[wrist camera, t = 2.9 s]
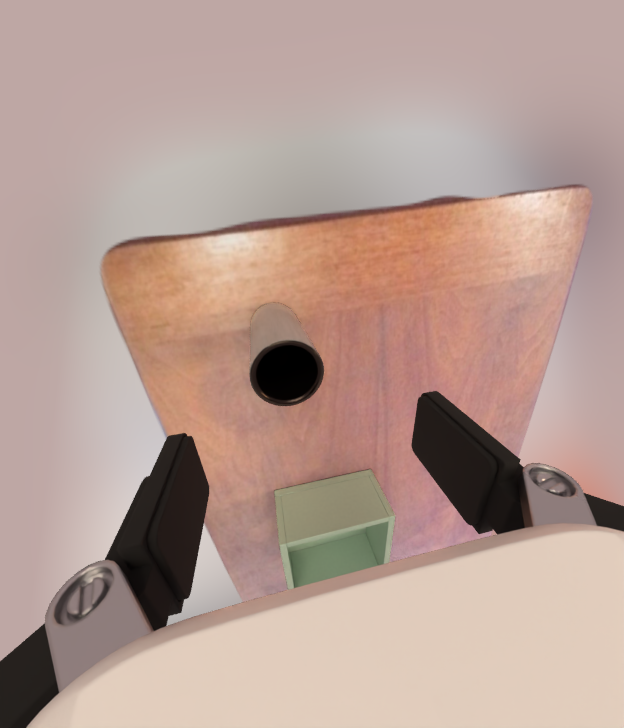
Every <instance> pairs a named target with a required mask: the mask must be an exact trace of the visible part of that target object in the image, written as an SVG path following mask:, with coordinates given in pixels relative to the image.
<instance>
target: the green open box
mask: <svg viewBox="0 0 624 728" xmlns="http://www.w3.org/2000/svg"><path fill="white" fill-rule="evenodd" d="M274 494H275V506H276V517H277V528H278V539H279V547H280V552H281V557H282V563H283V568H284V573H285V578H286V583H287V588H288V590H289V589H293V588H297V587H300V586H304V585H308V584H311V583H315V582H319V581H322V580H326V579H330V578H334V577H337V576H341V575H345V574H348V573H352V572H356V571H360V570H363V569H367V568H371V567H375V566H378V565H382V564H386V563H389V560H390V553H391V545H392V537H393V530H394V522H395V514H394V512H393V510H392V508H391V506H390V504H389V502H388V501H387V499H386V497H385V495H384V493H383V491H382V489H381V487H380V485H379V483H378V481H377V480H376V478H375V476H374V474H373V472H372V470H371V469H369V470H364V471H360V472H355V473H351V474H346V475H342V476H337V477H333V478H328V479H324V480H319V481H315V482H310V483H306V484H301V485H297V486H292V487H288V488H283V489H278V490H274Z"/></svg>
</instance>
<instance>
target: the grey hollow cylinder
mask: <svg viewBox="0 0 624 728" xmlns="http://www.w3.org/2000/svg"><path fill="white" fill-rule="evenodd" d="M323 375H324V366H323V362H322V359H321V357H320V355H319V353H318V352H317V350H316V348H315V347H314V345H313V343H312V342H311V340H310V338H309V336H308V335H307V333H306V331H305V330H304V328H303V326H302V325H301V323H300V321H299V320H298V318H297V316H296V315H295V313H294V312H293V311H292V310H291V309H290V308H289V307H287V306H286V305H284V304H281V303H268V304H265V305H263V306H261V307H260V308H258V309H257V310H256V311H255V313H254V314H253V316H252V319H251V323H250V382H251V385H252V388H253V389H254V391H255V392H256V394H257V395H258V396H259V397H260V398H261V399H263V400H264V401H266V402H268V403H270V404H273V405H278V406H291V405H296V404H299V403H301V402H303V401H305V400H307V399H308V398H310V397H311V396H312V395H313V394H314V393H315V392H316V391H317V390H318V388H319V387H320V385H321V382H322V380H323Z"/></svg>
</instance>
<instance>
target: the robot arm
mask: <svg viewBox="0 0 624 728" xmlns="http://www.w3.org/2000/svg"><path fill="white" fill-rule="evenodd" d="M412 449H413V452H414V453H415V455H416V456H417V457H418V459H419V460H420V461H421V463H422V464H423V465H424V467H425V468H426V469H427V471H428V472H429V473H430V475H431V476H432V477H433V479H434V480H435V481H436V483H437V484H438V485H439V487H440V488H441V489H442V491H443V492H444V493H445V495H446V496H447V497H448V499H449V500H450V501H451V503H452V504H453V505H454V507H455V508H456V509H457V511H458V512H459V513H460V515H461V516H462V517H463V519H464V520H465V521H466V523H468V524H469V525H472V526H473V527H474V528H475V530H476V531H477V532H478V534H481V533H485V532H489V531H492V530H494V531H495V532H496V533H497V534H498V535H494V536H489V537H485V538H481V539H477V540H474V541H470V542H466V543H462V544H458V545H454V546H450V547H447V548H443V549H439V550H435V551H431V552H427V553H424V554H420V555H416V556H412V557H408V558H405V559H401V560H397V561H393V562H390V563H386V564H382V565H378V566H375V567H371V568H367V569H363V570H360V571H356V572H352V573H348V574H345V575H341V576H337V577H334V578H330V579H326V580H322V581H319V582H315V583H311V584H308V585H304V586H300V587H297V588H293V589H289V590H286V591H282V592H279V593H275V594H271V595H268V596H264V597H260V598H257V599H253V600H249V601H246V602H242V603H239V604H236V605H232V606H229V607H225V608H222V609H218V610H215V611H212V612H208V613H205V614H201V615H198V616H195V617H191V618H189V619H186V620H183V621H180V622H177V623H174V624H171V625H168V626H166V625H167V620H168V616H170V615H174V614H178V613H181V611H182V606H183V602H184V599H187V598H188V597H189V595H190V592H191V588H192V583H193V577H194V572H195V566H196V561H197V556H198V550H199V545H200V540H201V535H202V529H203V524H204V518H205V513H206V508H207V502H208V497H209V485H208V481H207V479H206V476H205V473H204V470H203V467H202V464H201V461H200V458H199V455H198V452H197V449H196V446H195V443H194V440H193V438H192V436H187V434H186V433H183V434H177V435H171V436H168V437H167V439H166V441H165V443H164V446H163V448H162V450H161V452H160V455H159V457H158V459H157V462H156V463H155V465H154V468H153V470H152V472H151V474H150V476H148V477H146V478H145V479H144V480H143V482H142V483H141V485H140V487H139V489H138V491H137V493H136V495H135V498H134V500H133V502H132V504H131V506H130V509H129V510H128V512H127V514H126V517H125V519H124V521H123V523H122V525H121V527H120V529H119V531H118V533H117V535H116V537H115V540H114V542H113V544H112V546H111V548H110V550H109V552H108V554H107V557H106V558H105V560H103V561H98V562H96V563H93V564H90V565H88V566H87V567H85V568H83V569H82V570H81V571H79V572H77V573H76V574H75V575H74V576H73V577H71V578H70V579H69V580H68V581H67V582H66V583H65V584H64V585H63V586H62V587H61V589H60V590H59V591H58V592H57V593H56V595H55V597H54V598H53V600H52V601H51V603H50V605H49V607H48V610H47V613H46V615H45V624H43V625H42V626H41V627H40V628H39V629H38V630H36V631H35V632H34V633H33V634H32V635H31V636H30V637H28V638H27V639H26V640H25V641H24V642H22V643H21V644H20V645H19V646H18V647H17V648H15V649H14V650H13V651H12V652H11V653H10V654H8V655H7V656H6V657H5V658H4V659H3V660H1V661H0V728H624V506H621V505H618V504H615V503H612V502H609V501H606V500H603V499H600V498H597V497H594V496H591V495H588V494H585V493H583V490H582V489H581V487H580V485H579V484H578V483H577V482H576V481H575V480H574V479H573V478H572V477H570V476H569V475H568V474H566V473H565V472H563V471H561V470H559V469H557V468H555V467H552V466H549V465H545V464H540V463H531V464H528V465H526V466H525V467H523V466H521V465H520V464H519V462H520V459H519V458H518V457H517V456H515V455H514V454H513V453H512V452H510V451H509V450H508V449H507V448H506V447H504V446H503V445H502V444H501V443H500V442H498V441H497V440H496V439H495V438H493V437H492V436H491V435H490V434H489V433H487V432H486V431H485V430H484V429H483V428H481V427H480V426H479V425H478V424H477V423H475V422H474V421H473V420H472V419H470V418H469V417H468V416H467V415H466V414H464V413H463V412H462V411H461V410H460V409H458V408H457V407H456V406H455V405H453V404H452V403H451V402H450V401H449V400H447V399H446V398H445V397H444V396H443V395H441V394H440V393H439V392H437V391H433V392H427V393H423V394H422V395H421V397H419V399H418V403H417V410H416V417H415V424H414V431H413V438H412Z"/></svg>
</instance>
